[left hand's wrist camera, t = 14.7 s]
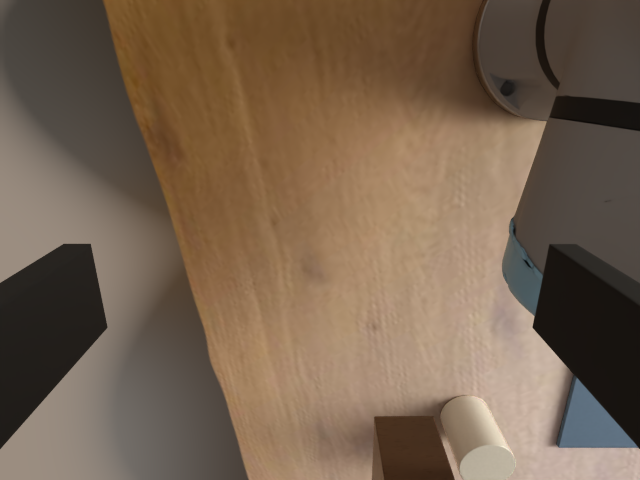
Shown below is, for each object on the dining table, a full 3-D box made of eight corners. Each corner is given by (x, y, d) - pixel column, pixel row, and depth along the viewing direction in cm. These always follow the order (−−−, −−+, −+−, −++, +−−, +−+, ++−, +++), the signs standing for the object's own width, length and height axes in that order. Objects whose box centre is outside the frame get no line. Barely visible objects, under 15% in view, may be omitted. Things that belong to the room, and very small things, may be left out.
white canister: (442, 395, 54) (462, 445, 46) (492, 395, 54) (520, 445, 46) (437, 433, 56) (456, 487, 49) (485, 433, 56) (511, 487, 49)
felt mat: (604, 252, 47) (608, 254, 47) (729, 252, 47) (734, 254, 47) (556, 444, 57) (558, 447, 56) (659, 444, 57) (662, 447, 56)
